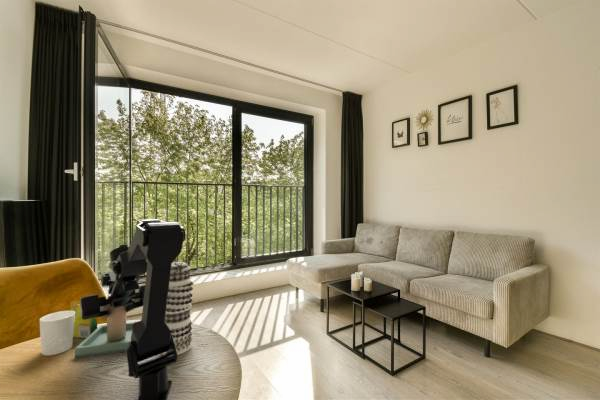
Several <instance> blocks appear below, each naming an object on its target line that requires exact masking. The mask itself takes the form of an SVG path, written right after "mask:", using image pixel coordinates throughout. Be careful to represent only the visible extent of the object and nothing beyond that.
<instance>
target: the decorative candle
mask: <svg viewBox="0 0 600 400" xmlns="http://www.w3.org/2000/svg"><path fill="white" fill-rule="evenodd" d="M191 268H192V267H191V266H190V265H188V263H187V262H185V261H174V262H173V263H172V265H171V273H170V282H169V290H168V298H167V307H166V315H165V322H166V324H167V326H168V327H169V329H170V331H171V334H172V338H173V341H174V344H175V348H176V351H177V356H178V355H181V354H184V353H186V352H188V351H189V350H190V349H191V348H192V340H193V338H192V336H193V334H192V329H193V328H192V325H193V322H192V320H191V308H192V302H193V299H192V297H193V294H192V293H191V292H192V291H193V289H194V287H192V286H193V285H194V282H193V281H191ZM163 354H166V352H164V353H161V355H163Z"/></svg>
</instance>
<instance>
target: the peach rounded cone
mask: <svg viewBox="0 0 600 400" xmlns="http://www.w3.org/2000/svg"><path fill="white" fill-rule="evenodd" d="M106 299H108V296H107V298H106ZM126 323H127V313H126V306H121V307H117V308H113V307H109V308H108V317H107V318H106V325H107V340H109V341H113V340H118V339H121V338H123V337H125V336H126Z"/></svg>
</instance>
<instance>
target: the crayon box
mask: <svg viewBox="0 0 600 400" xmlns="http://www.w3.org/2000/svg"><path fill="white" fill-rule="evenodd" d="M70 311H75V326H74V336H73V338H82V339H83V338H84V339H86V338H87V337H88V336H89V335H91V334H92V333H93V332H94V331H95V330H96V329H97V328H98V317H94V318H90V319H86V320H84V319H82V317H81V309H80V301H79V300H71V301H70Z"/></svg>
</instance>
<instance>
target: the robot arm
mask: <svg viewBox="0 0 600 400" xmlns="http://www.w3.org/2000/svg"><path fill="white" fill-rule="evenodd" d="M185 240H186V229H185V227H184V226H183V225H181V223H179V222H177V221H164V220H162V219H141V220H138V221H136V224H135V232H134V235H133V237H132V239H131V242H130V244H129V246H128V244H119V246H118V247H116V248H113V249H112V250H111V251H109V258H110V263H109V265H108V268H109V269H110V270H111V271H110V272H108V273H107V272H106V273H101V275H100V276H101V277H100V283H101V286H102V287H105V286H106V287H108V289H107V293H108V296H107V297H108V299H107V298H106V295H105V296H101V297H100V296H99V294H98V293H95V294H94V293H93V294H90V295H84V296H82V297H81V298H80V303H79V304H80V309H81V317H82V319H84V320H86V319H90V318H94V317H97V318H104V319H107V317H108V308H109V307H113V308H117V307H121V306H126V314H128V313H129V312H131V311H134V310H136V309H139V308H142V313H141V319H140V321H139V320H138V321H134V322H135V323H134V324H133V326H132V335H131V342H129V343H128V347H127V350H126V352H125V353H126V360H127V369H128V373H127V375H128V377H131V378H133V377H134V379H135V380H137V379H138V392H137V394H136V396H135V398H134V400H167V399H168V395H169V393H170V390H171V386H172V384H173V381H172V380H168V379H169V378H168V374H169V372H168V371H169V369H168V368H169V365H173V364H175V363H177V361H178V355H177V351H176V348H175V344H174V341H173V338H172V334H171V331H170V329H169V327H168V326H167V324H166V322H165V315H166V307H167V298H168V290H169V282H170V273H171V265H172V263H173V262H175V260H176V259H177V258H178V256H179V255H180V254H181V253H182V251H183V245H184V242H185ZM142 275H145V276H146V277H145V281H144V282H145V283H144V284H139V281H140V278H141V277H140V276H142ZM164 352H166V354H162V353H164ZM158 355H159V356H158ZM147 359H148V360H147ZM142 361H143V362H142Z"/></svg>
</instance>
